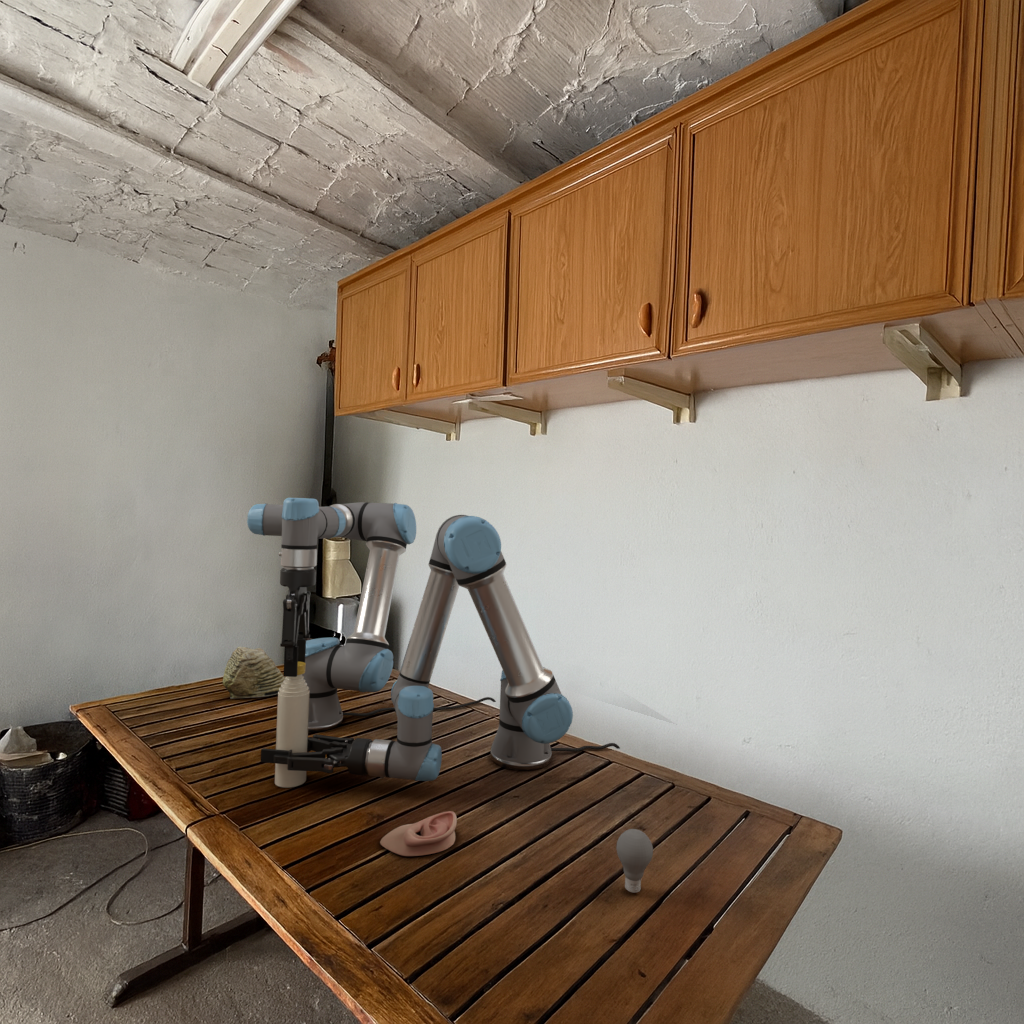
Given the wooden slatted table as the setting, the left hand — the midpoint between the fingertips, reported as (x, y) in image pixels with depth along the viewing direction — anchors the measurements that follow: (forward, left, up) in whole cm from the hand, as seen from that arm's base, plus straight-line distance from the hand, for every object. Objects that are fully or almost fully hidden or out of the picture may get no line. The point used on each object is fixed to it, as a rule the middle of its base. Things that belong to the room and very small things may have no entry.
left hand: (294, 671), depth 140 cm
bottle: (0, 0, -24) cm, 24 cm away
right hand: (+3, -4, -18) cm, 18 cm away
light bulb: (-16, +76, -24) cm, 81 cm away
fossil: (-25, -61, -24) cm, 70 cm away
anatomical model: (-2, +39, -24) cm, 46 cm away
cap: (0, 0, +1) cm, 1 cm away
